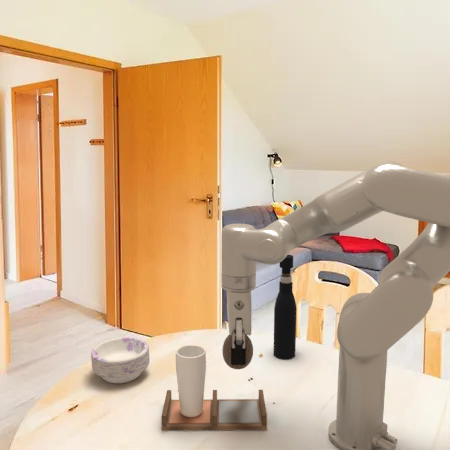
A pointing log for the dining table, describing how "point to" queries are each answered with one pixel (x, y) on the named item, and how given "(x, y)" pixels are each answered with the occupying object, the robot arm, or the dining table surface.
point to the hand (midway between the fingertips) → (237, 356)
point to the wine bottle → (285, 314)
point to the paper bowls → (120, 359)
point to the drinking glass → (191, 379)
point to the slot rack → (217, 414)
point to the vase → (227, 351)
